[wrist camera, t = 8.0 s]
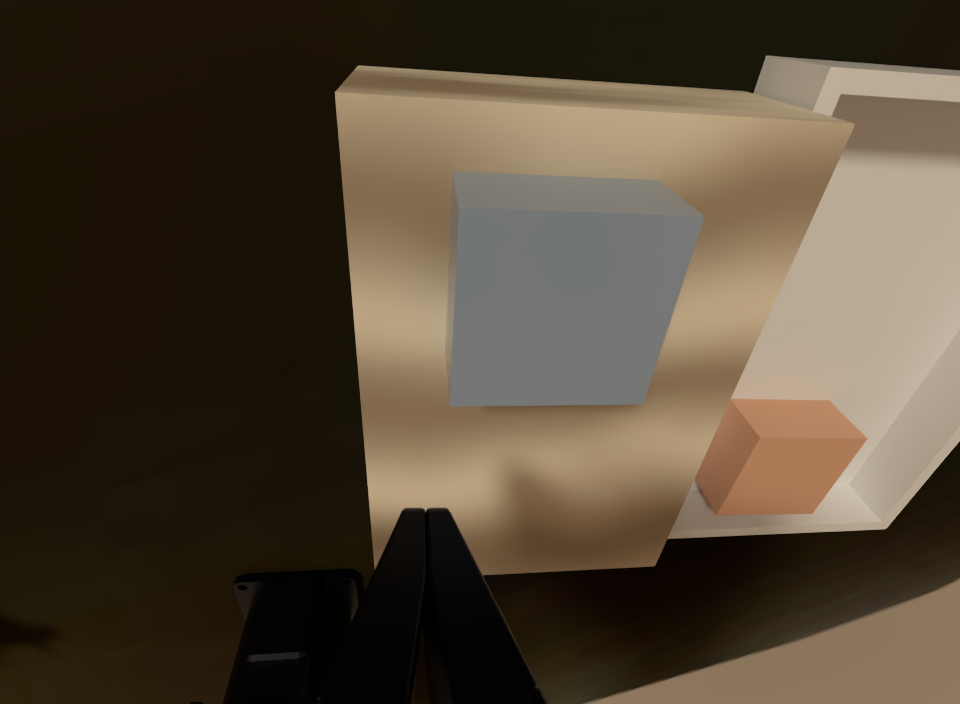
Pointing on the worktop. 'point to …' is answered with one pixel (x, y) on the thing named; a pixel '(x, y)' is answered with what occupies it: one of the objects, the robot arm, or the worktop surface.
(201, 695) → the worktop surface
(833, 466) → the tile terracotta
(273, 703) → the robot arm
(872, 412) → the bin
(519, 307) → the tile slate
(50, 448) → the worktop surface
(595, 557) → the birch board
